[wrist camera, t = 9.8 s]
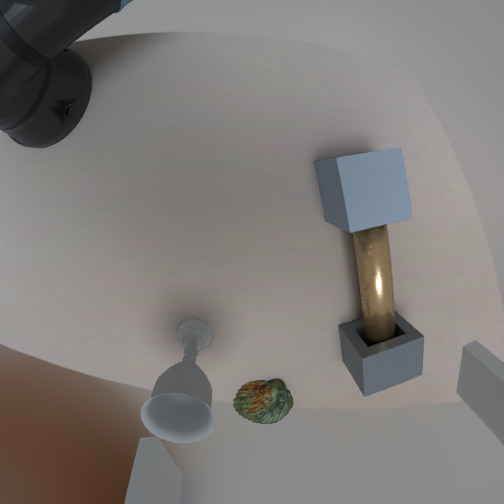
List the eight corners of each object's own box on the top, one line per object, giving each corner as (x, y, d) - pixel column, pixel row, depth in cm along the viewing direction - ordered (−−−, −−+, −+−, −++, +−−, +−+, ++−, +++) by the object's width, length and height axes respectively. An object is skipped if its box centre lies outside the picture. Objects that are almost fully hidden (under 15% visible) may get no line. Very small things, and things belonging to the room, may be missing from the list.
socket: (338, 325, 45) (362, 358, 36) (392, 308, 45) (424, 336, 36) (342, 360, 47) (364, 396, 37) (393, 343, 47) (422, 374, 37)
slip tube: (343, 207, 38) (356, 210, 34) (374, 200, 38) (389, 203, 34) (361, 357, 43) (372, 372, 39) (388, 348, 44) (400, 362, 39)
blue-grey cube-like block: (314, 161, 40) (336, 157, 31) (368, 152, 40) (401, 147, 31) (326, 221, 41) (350, 232, 33) (379, 209, 42) (412, 217, 33)
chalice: (209, 306, 43) (198, 384, 26) (227, 347, 45) (226, 435, 27) (161, 321, 43) (127, 400, 26) (181, 360, 45) (160, 447, 27)
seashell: (223, 425, 43) (260, 383, 42) (221, 408, 47) (256, 366, 46) (275, 442, 46) (313, 403, 45) (271, 426, 50) (306, 388, 48)
